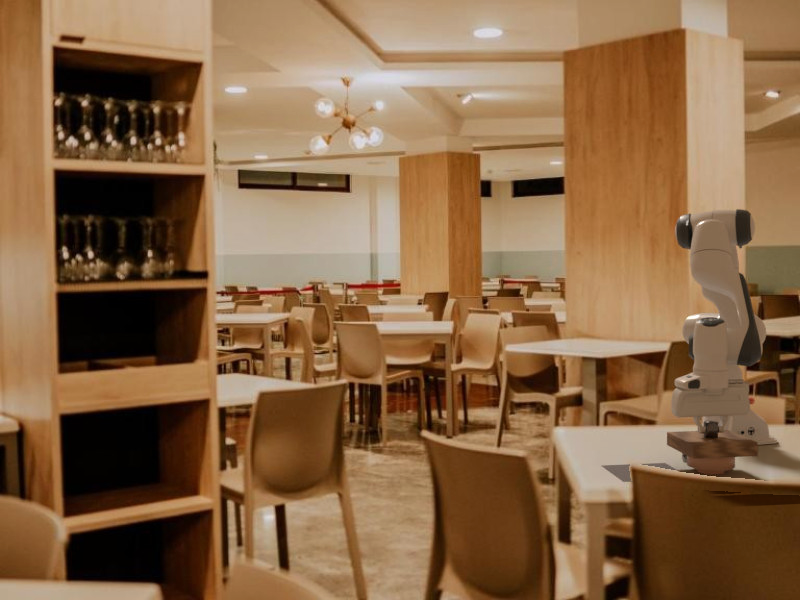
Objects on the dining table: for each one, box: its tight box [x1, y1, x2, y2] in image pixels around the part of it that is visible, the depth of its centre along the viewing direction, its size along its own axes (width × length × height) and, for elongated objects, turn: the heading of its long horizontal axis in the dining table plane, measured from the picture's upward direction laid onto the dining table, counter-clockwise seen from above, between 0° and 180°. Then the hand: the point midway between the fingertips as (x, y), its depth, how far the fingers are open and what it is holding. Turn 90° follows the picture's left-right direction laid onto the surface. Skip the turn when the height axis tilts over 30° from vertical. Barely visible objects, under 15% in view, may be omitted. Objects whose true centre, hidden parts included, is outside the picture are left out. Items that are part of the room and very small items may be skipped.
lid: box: [666, 421, 759, 459], centre depth 242 cm, size 17×17×8 cm
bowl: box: [686, 456, 736, 475], centre depth 243 cm, size 12×12×7 cm
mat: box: [601, 462, 679, 483], centre depth 243 cm, size 18×18×1 cm
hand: (710, 432), depth 242 cm, fingers closed on lid, 4 cm apart
